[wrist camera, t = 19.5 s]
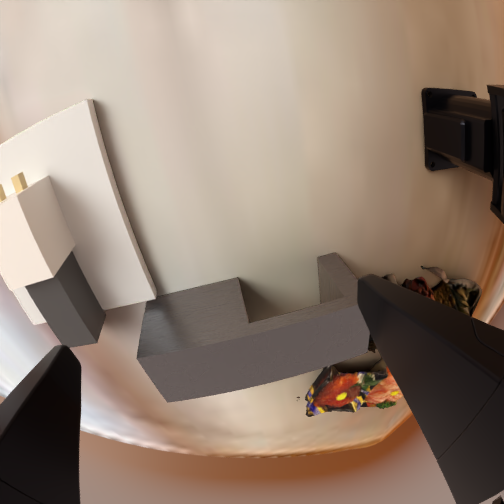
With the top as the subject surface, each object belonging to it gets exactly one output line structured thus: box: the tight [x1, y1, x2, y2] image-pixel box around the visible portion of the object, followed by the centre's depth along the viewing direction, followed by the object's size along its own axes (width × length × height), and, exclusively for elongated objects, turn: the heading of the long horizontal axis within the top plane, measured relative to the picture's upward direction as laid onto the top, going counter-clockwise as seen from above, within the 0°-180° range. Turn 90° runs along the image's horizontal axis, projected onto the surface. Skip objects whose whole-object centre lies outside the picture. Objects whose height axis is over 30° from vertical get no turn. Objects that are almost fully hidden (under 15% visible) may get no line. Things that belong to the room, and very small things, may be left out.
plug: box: [0, 172, 106, 348], centre depth 15 cm, size 4×12×4 cm, turn 11°
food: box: [297, 266, 482, 417], centre depth 29 cm, size 22×19×4 cm
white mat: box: [0, 99, 157, 325], centre depth 17 cm, size 12×14×1 cm
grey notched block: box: [137, 252, 370, 403], centre depth 20 cm, size 14×5×6 cm, turn 101°
